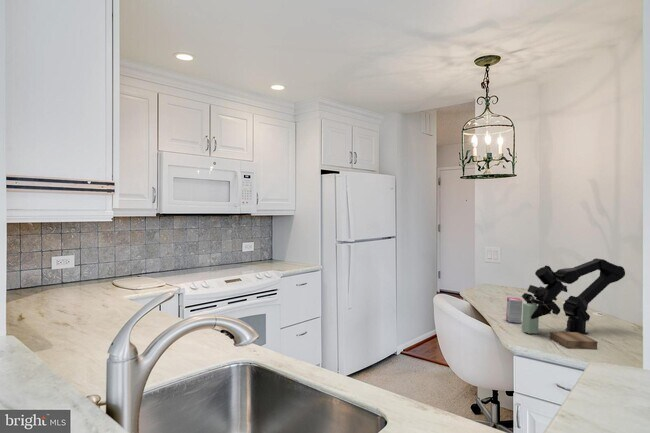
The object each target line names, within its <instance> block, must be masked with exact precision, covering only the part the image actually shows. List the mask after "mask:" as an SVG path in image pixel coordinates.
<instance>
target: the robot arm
mask: <svg viewBox="0 0 650 433" xmlns="http://www.w3.org/2000/svg"><path fill="white" fill-rule="evenodd" d="M595 271H599V276H598V277H597V278H596V279H595V280H594V281H593V282H591V284H589V285H588V286H587V287H586V288H585V289H584V290H583V291H582V292H581V293H579V295H577V296H574V295H570V296H569V297H568V298H566V300H564V302H563V304H562V310H563V312H564V314H565V317H567V320H566V328H565V330H566V331H567V332H579V333H581V334H583V335H589V334H588V331H587V330H586V327H587V326H586V325H587V322H588V321H590V319H591V316H590V314H589V313H588V312H587V310H588V308H589V303H591V302H592V301H593V300H594V299H595V298H596V297H597V296H598V295H599V294H600V293H602V291H604V290H605V289H606V288H607V287H608V286H609V285H610V284H613V283H616V282H618V281H620V280H622V279H623V278H624V277H625V276H626V271H625V268H624V267H623V266H621V265H616V264H614V263H611V262H609V261H608V260H606V259H602V258H594V259H593V260H590V261H587V262H585V263H582V264H580V265H577V266H574V267H566V268H565V267H564V268H559V269H558V270H556V271H553V269H552V268H551V267H550V265H544V266H543V267H540V268H538V269H537V270H536V271H535V276H536V277H537V278H538V279H539V280H540V282H541V283H542V284H543V285H546V286H545V287H543V286H542V285H541V286H535V285H532V284H529V286H528V288H527V292H528V293H527V292H524V293H523V294H522V295H521V298H522V299H523V300H524V301H525V303H526V304H535V305H538V308H537V309H536V311H535V312H534V313H533V314H532V316H531V319H535V318H537V317H539V318H540V317H543V316H547V315H551V314H554V315H557V316H558V315H559V314H560V313H561V308H560V307H559V306H558V305H557V303H556V302H555V301H557V300H558V298H557V297H558V296H559V295H560V293H562V292H564V293H568V286H567V285H564V284H568V285H572V284H573V283H575V282H578V280H580V277H583V276H585V275H588V274H590V273H593V272H595Z"/></svg>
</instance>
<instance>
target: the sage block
mask: <svg viewBox="0 0 650 433" xmlns="http://www.w3.org/2000/svg"><path fill="white" fill-rule="evenodd" d="M537 308H538V304H537V305H535V304H527V303H522V322H521V325H522V327H521V328H522V330H521V331H522V332H525V333H528V334H539V323H540V322H539V320H540V317H537V318H535V319H531V316H532V314H533V313H534V312H535V311H536V309H537Z"/></svg>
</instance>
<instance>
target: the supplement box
mask: <svg viewBox="0 0 650 433" xmlns="http://www.w3.org/2000/svg"><path fill="white" fill-rule="evenodd" d="M522 318H523V300H522V299H520V298H519V297H509V296H508V297H507V298H506V314H505V321H506V322H507V323H509V324H515V325H516V324H517V325H522Z"/></svg>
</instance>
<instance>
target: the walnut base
mask: <svg viewBox="0 0 650 433" xmlns="http://www.w3.org/2000/svg"><path fill="white" fill-rule="evenodd" d="M549 339H550V340H552V341H553V342H554V343H556V344H558V343H559V345H561V346H562V347H564V348H565V349H572V348H573V350H575V349H577V350H597V349H598V341H596V340H595V339H593V338H591V337H589V336H587V335H586V334H581V333H579V332H570V331H550V332H549Z"/></svg>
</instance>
